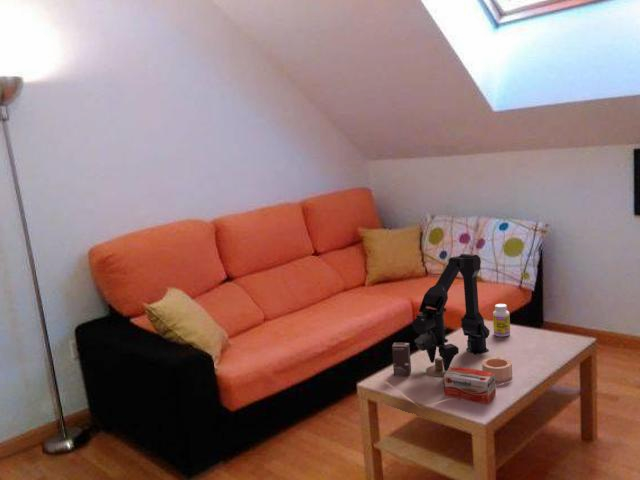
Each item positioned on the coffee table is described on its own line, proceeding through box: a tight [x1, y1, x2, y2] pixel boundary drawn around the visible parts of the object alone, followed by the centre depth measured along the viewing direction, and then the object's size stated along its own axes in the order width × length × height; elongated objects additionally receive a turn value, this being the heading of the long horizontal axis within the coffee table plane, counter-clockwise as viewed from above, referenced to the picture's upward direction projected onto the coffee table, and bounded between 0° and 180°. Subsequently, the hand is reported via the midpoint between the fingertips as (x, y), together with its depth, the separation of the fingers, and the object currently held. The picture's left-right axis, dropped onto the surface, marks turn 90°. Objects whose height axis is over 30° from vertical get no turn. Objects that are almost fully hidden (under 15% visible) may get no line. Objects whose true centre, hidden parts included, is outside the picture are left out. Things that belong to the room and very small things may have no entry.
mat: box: [420, 368, 444, 380], centre depth 217 cm, size 10×10×1 cm
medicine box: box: [443, 366, 497, 405], centre depth 196 cm, size 15×8×8 cm, turn 55°
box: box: [391, 341, 412, 377], centre depth 217 cm, size 6×4×12 cm
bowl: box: [481, 357, 513, 382], centre depth 209 cm, size 10×10×5 cm
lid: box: [425, 357, 452, 377], centre depth 217 cm, size 10×10×5 cm
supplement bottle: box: [492, 303, 511, 338], centre depth 248 cm, size 7×7×13 cm
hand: (439, 366), depth 217 cm, fingers open, 9 cm apart
